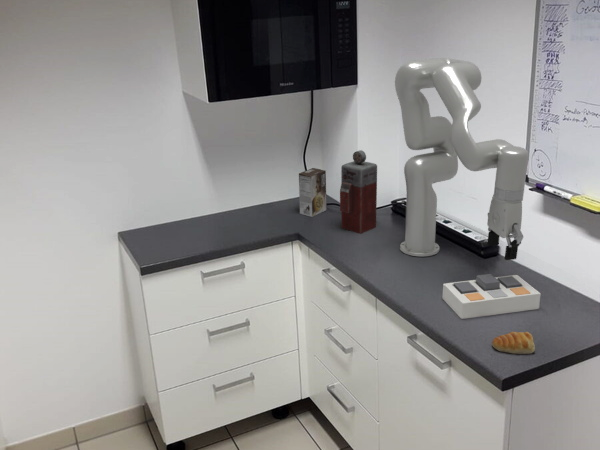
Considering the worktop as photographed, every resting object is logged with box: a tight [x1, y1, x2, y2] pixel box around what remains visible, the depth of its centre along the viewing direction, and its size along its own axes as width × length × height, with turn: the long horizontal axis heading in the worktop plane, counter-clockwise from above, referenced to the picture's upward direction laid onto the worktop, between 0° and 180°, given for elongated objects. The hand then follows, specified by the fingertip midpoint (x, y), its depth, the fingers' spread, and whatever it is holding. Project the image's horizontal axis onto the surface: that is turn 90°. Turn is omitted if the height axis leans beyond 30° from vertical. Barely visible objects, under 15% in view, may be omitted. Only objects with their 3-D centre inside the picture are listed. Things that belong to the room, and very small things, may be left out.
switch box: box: [442, 274, 542, 320], centre depth 174 cm, size 12×22×5 cm, turn 102°
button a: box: [454, 280, 477, 294], centre depth 174 cm, size 5×4×4 cm
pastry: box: [491, 331, 536, 355], centre depth 153 cm, size 9×7×4 cm
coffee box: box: [298, 167, 327, 218], centre depth 244 cm, size 9×6×16 cm
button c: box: [498, 275, 522, 288], centre depth 176 cm, size 5×4×4 cm
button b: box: [475, 273, 500, 291], centre depth 175 cm, size 5×4×4 cm
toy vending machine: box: [339, 149, 378, 235], centre depth 225 cm, size 9×11×28 cm
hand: (501, 251), depth 178 cm, fingers open, 9 cm apart
